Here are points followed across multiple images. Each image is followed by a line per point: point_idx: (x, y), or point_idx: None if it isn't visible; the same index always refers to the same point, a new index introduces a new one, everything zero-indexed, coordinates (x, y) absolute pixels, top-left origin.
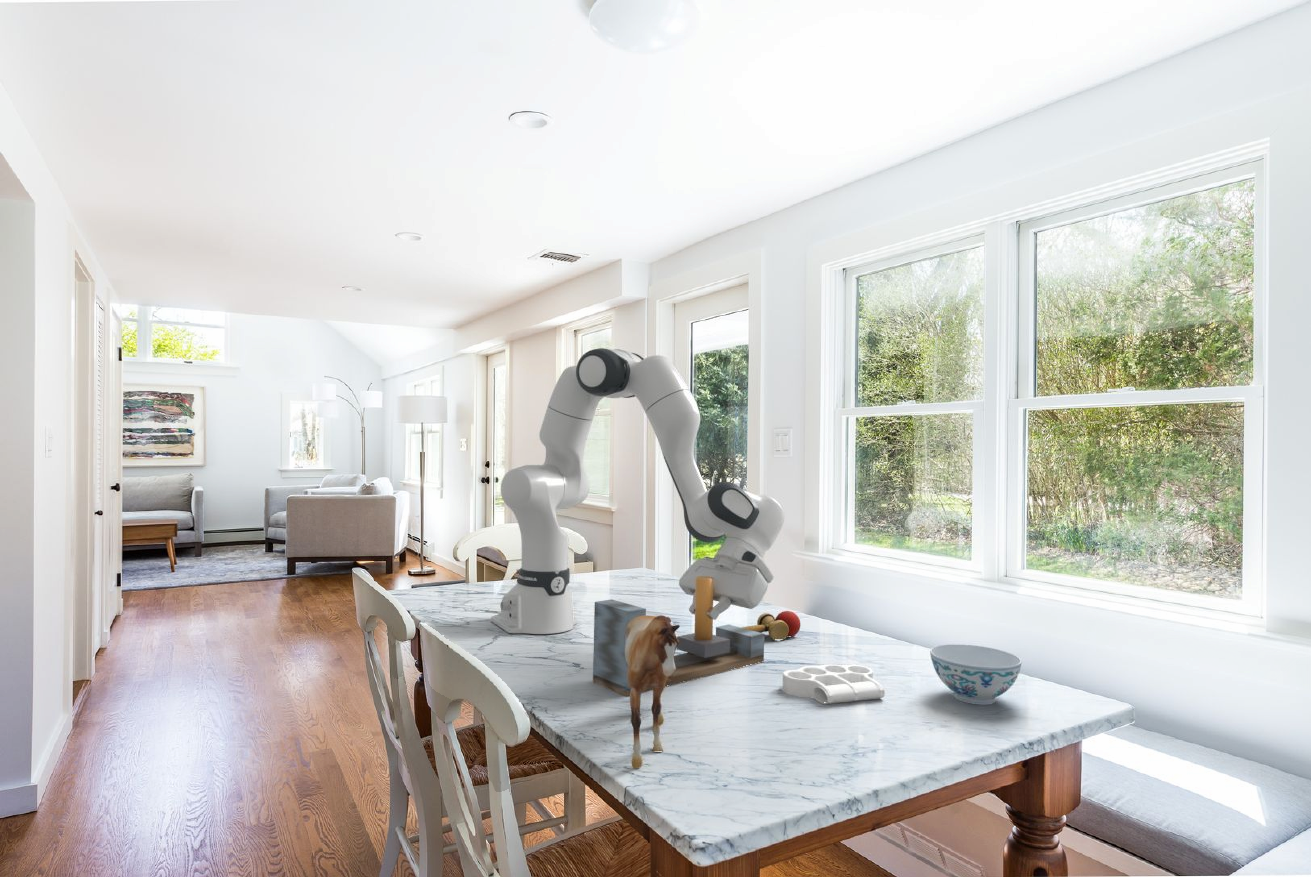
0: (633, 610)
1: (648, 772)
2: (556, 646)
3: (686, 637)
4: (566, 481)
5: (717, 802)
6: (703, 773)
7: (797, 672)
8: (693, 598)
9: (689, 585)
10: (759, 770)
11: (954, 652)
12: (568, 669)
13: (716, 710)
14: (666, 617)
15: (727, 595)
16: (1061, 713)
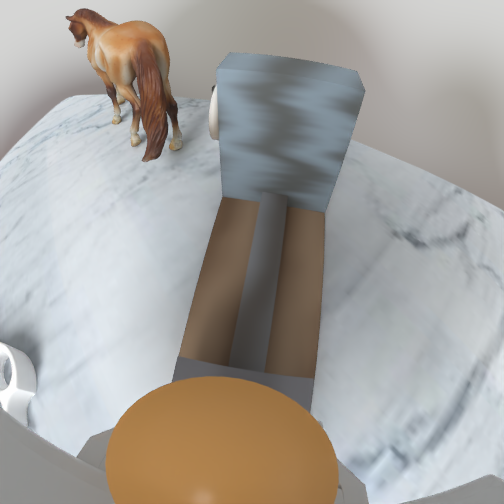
0: (227, 57)
1: (111, 105)
2: (500, 289)
3: (283, 392)
4: None
5: (63, 114)
6: (75, 124)
7: (4, 389)
8: (341, 468)
9: (433, 500)
10: (39, 150)
11: None
12: (398, 216)
13: (91, 218)
14: (77, 10)
15: (53, 445)
16: None
